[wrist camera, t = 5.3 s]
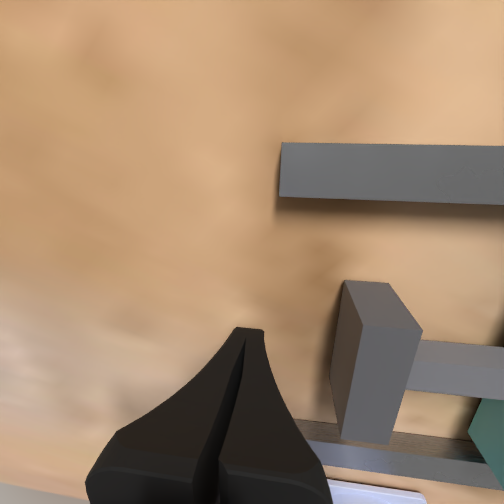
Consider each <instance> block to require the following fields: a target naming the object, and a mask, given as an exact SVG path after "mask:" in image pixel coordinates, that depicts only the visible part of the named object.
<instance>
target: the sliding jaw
mask: <svg viewBox="0 0 504 504" xmlns="http://www.w3.org/2000/svg"><path fill="white" fill-rule="evenodd" d="M422 332H423V330H422V328H421V327H420V326H419V324H418V323H417V322H416V320H415V319H414V317H413V316H412V315H411V313H410V312H409V311H408V309H407V308H406V306H405V305H404V304H403V302H402V301H401V300H400V298H399V297H398V295H397V294H396V293H395V291H394V290H393V289H392V287H391V286H390V284H389V283H380V282H366V281H351V280H344V286H343V292H342V298H341V305H340V311H339V317H338V323H337V330H336V336H335V342H334V349H333V355H332V361H331V367H330V374H329V378H330V384H331V389H332V395H333V401H334V406H335V412H336V417H337V423H338V429H339V434H340V439H345V440H352V441H360V442H367V443H375V444H382V445H388V444H389V441H390V438H391V434H392V431H393V428H394V424H395V421H396V418H397V414H398V411H399V408H400V405H401V401H402V398H403V395H404V391H405V390H414V391H423V392H433V393H442V394H451V395H460V396H469V397H478V398H482V401H481V403H480V405H479V407H478V409H477V412H476V414H475V416H474V418H473V420H472V423H471V425H470V427H469V429H468V434H469V435H470V437H471V438H472V440H473V442H474V443H475V445H476V446H477V448H478V450H479V451H480V453H481V454H482V456H483V458H484V459H485V461H486V462H487V464H488V466H489V467H490V469H491V470H492V472H493V474H494V475H495V477H496V478H497V480H498V482H499V483H500V485H501V486H502V488H503V490H504V347H495V346H484V345H473V344H462V343H451V342H439V341H428V340H420V339H421V335H422Z"/></svg>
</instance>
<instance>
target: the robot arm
mask: <svg viewBox="0 0 504 504" xmlns="http://www.w3.org/2000/svg"><path fill="white" fill-rule="evenodd" d="M85 485H86V492H87V495H88V498H89V501H90V504H427V502H426V499H425V497H424V495H422V494H421V493H418V492H411V491H405V490H398V489H391V488H384V487H378V486H371V485H364V484H357V483H351V482H344V481H337V480H331V479H327V478H326V475H325V472H324V469H323V467H322V464H321V461H320V460H319V458H318V457H317V455H316V454H315V453H314V451H313V450H312V448H311V447H310V445H309V444H308V442H307V441H306V439H305V438H304V436H303V435H302V433H301V432H300V430H299V428H298V427H297V425H296V423H295V421H294V420H293V418H292V416H291V414H290V412H289V411H288V409H287V407H286V405H285V403H284V401H283V399H282V397H281V394H280V392H279V390H278V387H277V385H276V382H275V380H274V377H273V374H272V371H271V368H270V365H269V361H268V358H267V354H266V349H265V343H264V331H263V330H261V329H251V328H241V327H236V328H235V329H234V330H233V331H232V333H231V334H230V336H229V337H228V339H227V340H226V342H225V343H224V344H223V346H222V347H221V348H220V349H219V351H218V352H217V353H216V354H215V355H214V357H213V358H212V359H211V360H210V361H209V362H208V363H207V364H206V365H205V367H204V368H203V369H202V370H201V371H200V372H199V373H198V374H197V375H196V376H195V377H194V378H193V379H191V380H190V381H189V382H188V383H187V384H186V385H185V386H184V387H182V388H181V389H180V390H179V391H178V392H176V393H175V394H174V395H173V396H171V397H170V398H169V399H167V400H166V401H165V402H163V403H162V404H160V405H159V406H157V407H156V408H154V409H153V410H152V411H150V412H149V413H147V414H146V415H144V416H142V417H141V418H139V419H137V420H136V421H134V422H132V423H130V424H129V425H127V426H125V427H123V428H121V429H120V430H118V431H116V433H115V434H114V436H113V437H112V438H111V440H110V441H109V442H108V444H107V445H106V446H105V448H104V449H103V451H102V452H101V454H100V456H99V457H98V459H97V461H96V462H95V464H94V466H93V467H92V469H91V471H90V472H89V474H88V475H87V478H86V481H85Z"/></svg>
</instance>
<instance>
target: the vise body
mask: <svg viewBox="0 0 504 504" xmlns="http://www.w3.org/2000/svg"><path fill="white" fill-rule="evenodd" d="M279 197H304V198H331V199H358V200H385V201H411V202H438V203H465V204H491V205H504V146H468V145H404V144H340V143H282V150H281V169H280V188H279ZM293 420H294V421H295V423H296V425H297V427H298V428H299V430H300V432H301V433H302V435H303V436H304V438H305V439H306V441H307V442H308V444H309V445H310V447H311V448H312V450H313V451H314V453H315V454H316V455H317V457H318V458H319V460H320V461H321V464H322V465H328V466H335V467H342V468H349V469H356V470H363V471H370V472H377V473H384V474H391V475H398V476H405V477H412V478H419V479H426V480H433V481H440V482H447V483H454V484H461V485H468V486H474V487H481V488H488V489H495V490H502V491H504V490H503V488H502V486H501V485H500V483H499V482H498V480H497V478H496V477H495V475H494V474H493V472H492V470H491V469H490V467H489V466H488V464H487V462H486V461H485V459H484V458H483V456H482V454H481V453H480V451H479V450H478V448H477V446H476V445H475V443H474V442H471V441H463V440H455V439H447V438H439V437H431V436H424V435H416V434H408V433H400V432H392V434H391V438H390V441H389V444H388V445H382V444H375V443H367V442H360V441H352V440H345V439H340V434H339V429H338V425H337V424H329V423H321V422H313V421H305V420H297V419H293Z"/></svg>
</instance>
